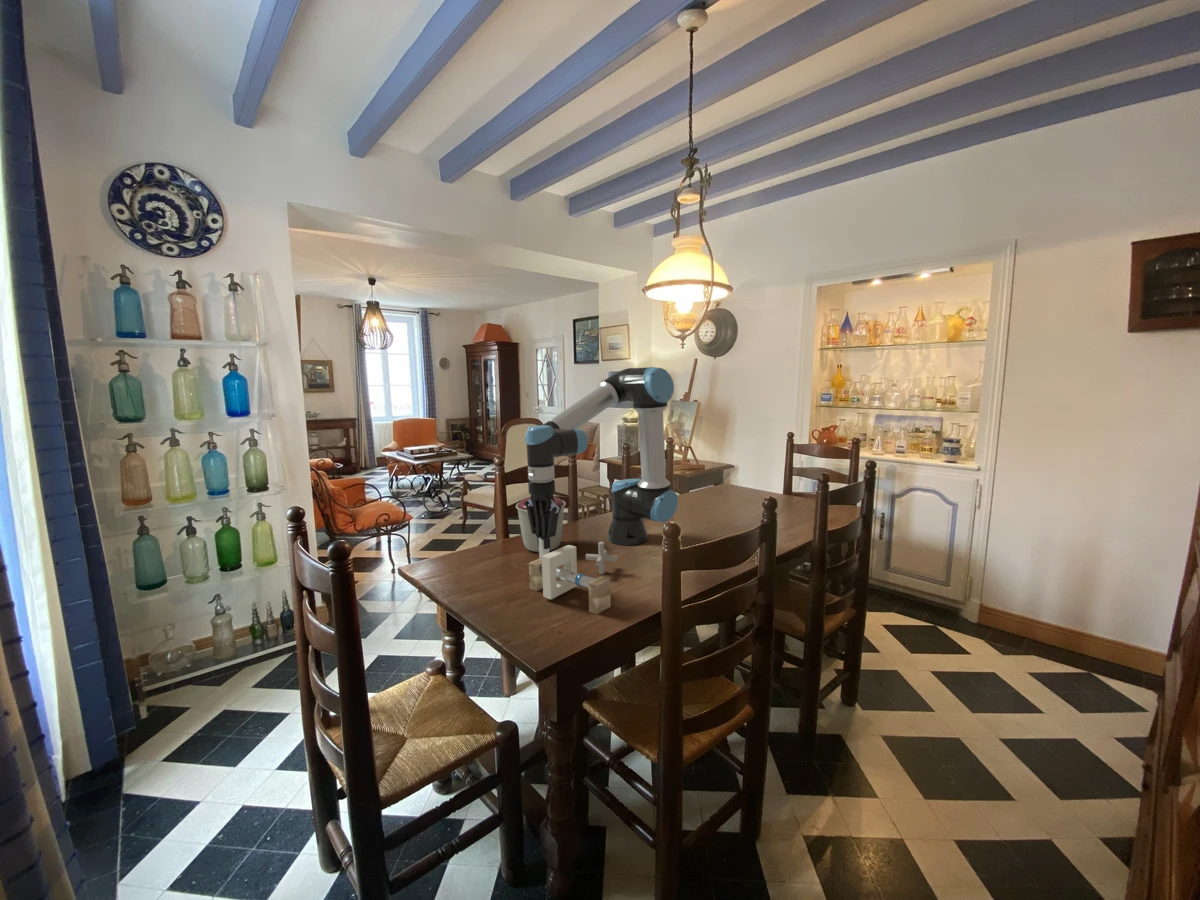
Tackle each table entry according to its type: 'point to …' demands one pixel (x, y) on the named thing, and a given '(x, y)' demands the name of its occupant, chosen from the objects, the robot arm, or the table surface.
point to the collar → (549, 565)
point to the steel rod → (572, 576)
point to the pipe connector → (601, 557)
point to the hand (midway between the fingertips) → (544, 558)
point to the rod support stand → (597, 588)
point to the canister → (527, 535)
